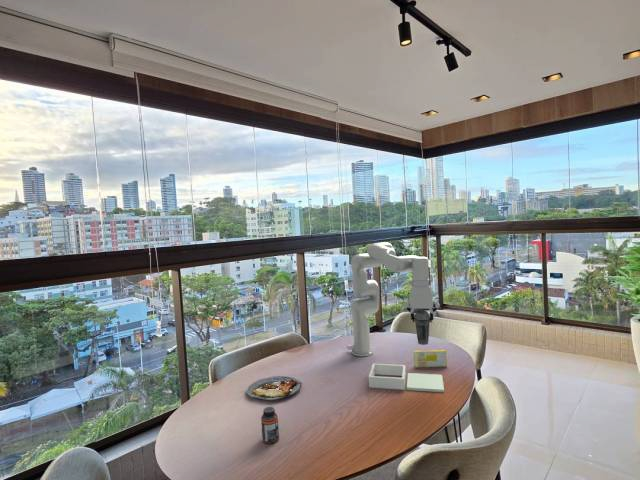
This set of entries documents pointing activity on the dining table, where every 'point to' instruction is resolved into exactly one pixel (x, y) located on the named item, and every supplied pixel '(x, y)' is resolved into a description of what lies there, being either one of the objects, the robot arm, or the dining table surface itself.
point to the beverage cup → (422, 326)
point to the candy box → (430, 358)
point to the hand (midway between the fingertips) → (422, 321)
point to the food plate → (274, 394)
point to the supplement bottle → (269, 425)
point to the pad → (425, 382)
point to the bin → (387, 381)
